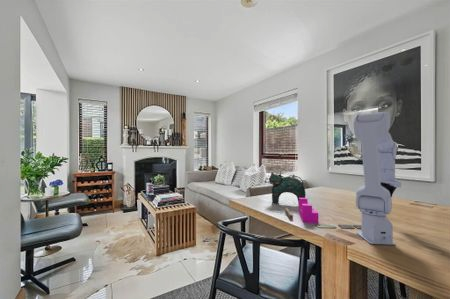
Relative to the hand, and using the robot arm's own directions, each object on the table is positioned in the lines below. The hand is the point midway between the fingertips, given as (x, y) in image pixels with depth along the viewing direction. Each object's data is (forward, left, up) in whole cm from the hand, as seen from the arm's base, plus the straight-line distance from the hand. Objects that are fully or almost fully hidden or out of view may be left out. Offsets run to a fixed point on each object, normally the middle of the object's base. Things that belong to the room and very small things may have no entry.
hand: (386, 201), depth 92 cm
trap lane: (+3, +25, -9) cm, 27 cm away
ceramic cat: (+31, +35, -10) cm, 48 cm away
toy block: (+6, +30, -10) cm, 32 cm away
